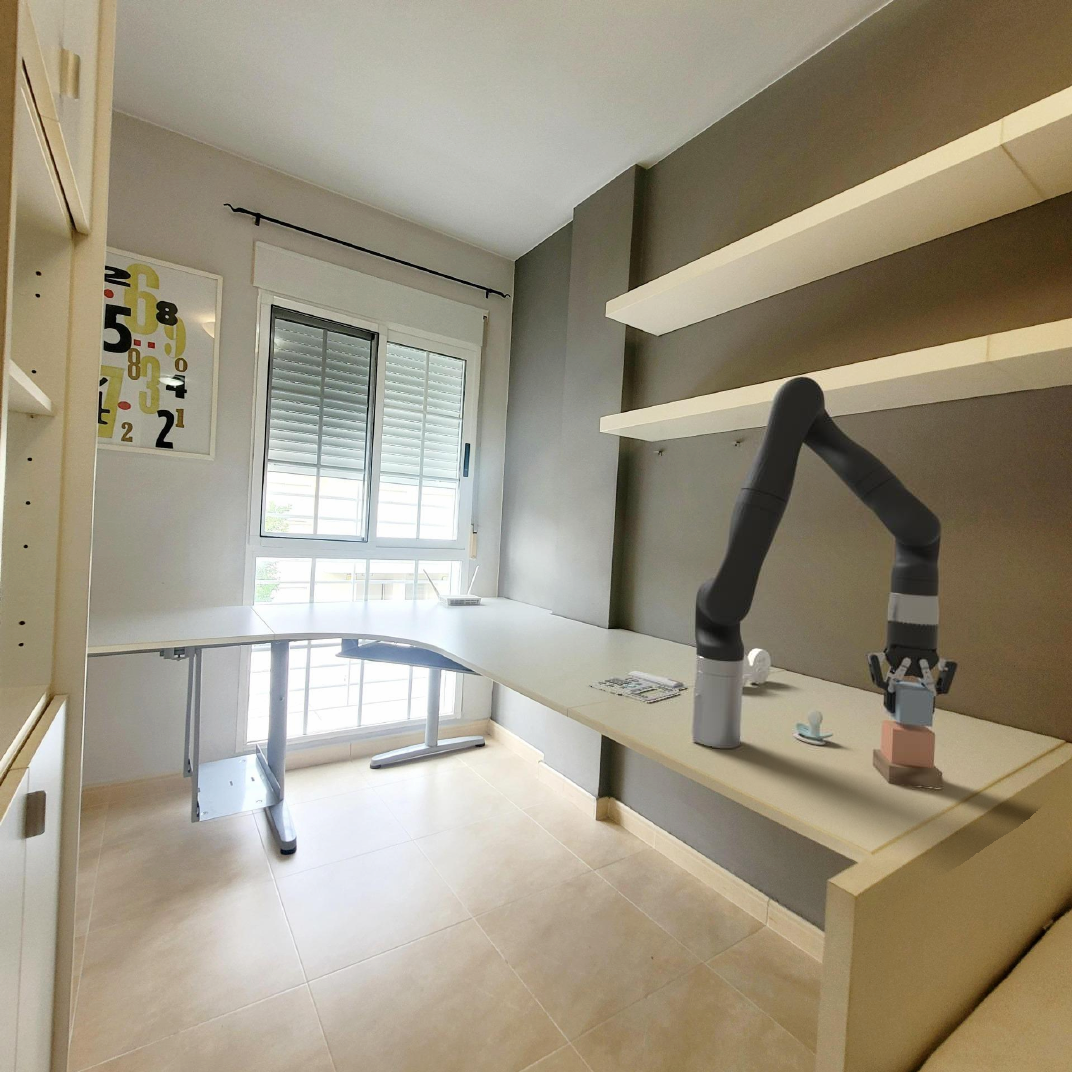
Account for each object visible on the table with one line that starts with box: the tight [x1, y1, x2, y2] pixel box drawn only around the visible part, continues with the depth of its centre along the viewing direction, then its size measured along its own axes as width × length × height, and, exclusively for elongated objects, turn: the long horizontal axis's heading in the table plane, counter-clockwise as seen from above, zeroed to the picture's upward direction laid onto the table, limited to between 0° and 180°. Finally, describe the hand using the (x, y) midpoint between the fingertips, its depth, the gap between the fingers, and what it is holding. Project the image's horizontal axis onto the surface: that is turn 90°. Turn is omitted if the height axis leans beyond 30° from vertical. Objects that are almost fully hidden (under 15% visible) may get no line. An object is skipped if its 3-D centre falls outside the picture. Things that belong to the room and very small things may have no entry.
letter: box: [743, 648, 772, 688], centre depth 157 cm, size 22×2×10 cm, turn 129°
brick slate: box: [885, 680, 934, 728], centre depth 98 cm, size 6×5×6 cm
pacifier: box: [793, 709, 834, 746], centre depth 115 cm, size 7×6×6 cm
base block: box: [872, 748, 943, 789], centre depth 98 cm, size 8×8×3 cm
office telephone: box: [595, 670, 688, 701], centre depth 150 cm, size 23×3×20 cm
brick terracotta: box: [880, 719, 936, 768], centre depth 98 cm, size 6×5×6 cm
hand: (908, 713), depth 98 cm, fingers closed on brick slate, 5 cm apart
